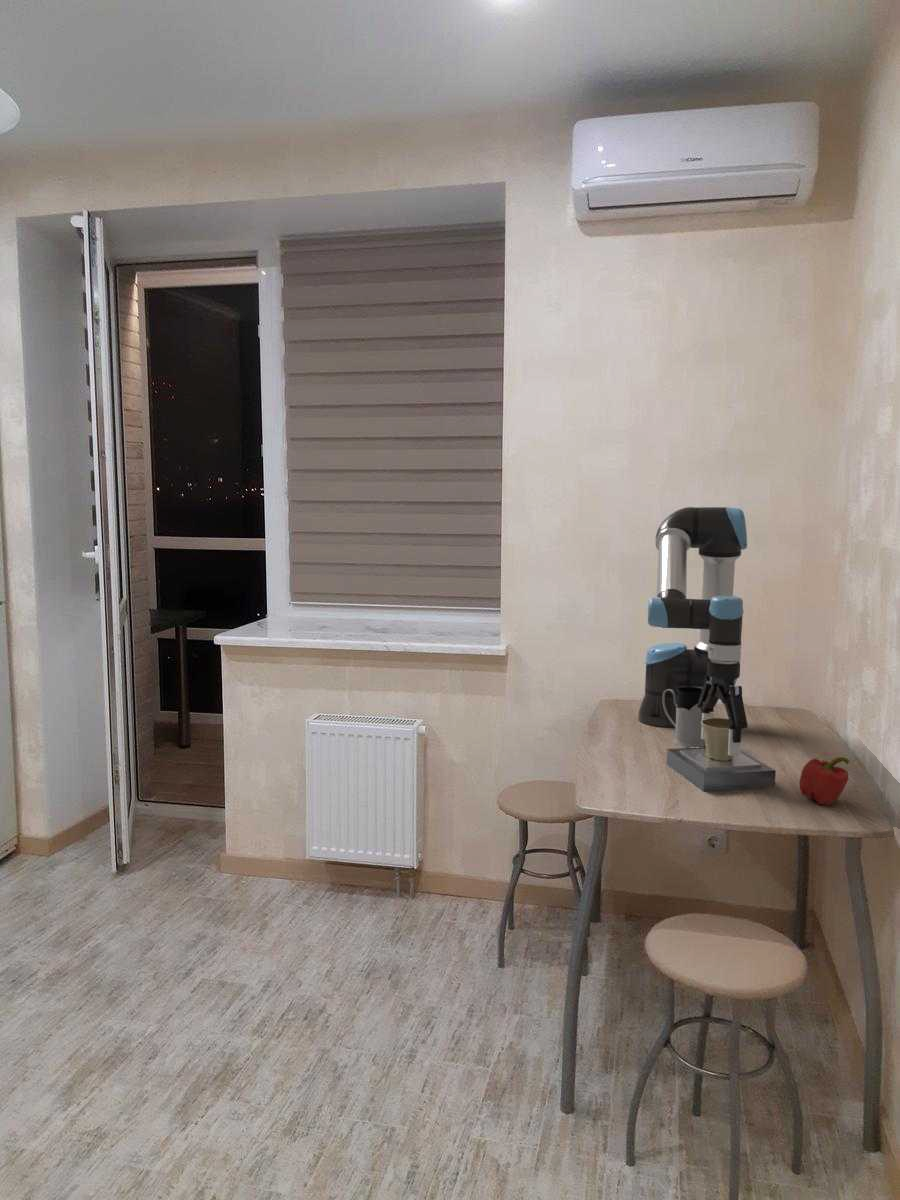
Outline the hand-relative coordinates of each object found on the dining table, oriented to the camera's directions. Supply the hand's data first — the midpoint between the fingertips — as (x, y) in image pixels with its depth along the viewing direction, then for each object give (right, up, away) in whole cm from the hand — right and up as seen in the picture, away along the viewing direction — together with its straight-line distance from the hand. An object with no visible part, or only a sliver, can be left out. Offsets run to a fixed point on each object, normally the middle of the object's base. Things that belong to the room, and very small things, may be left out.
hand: (719, 746), depth 208 cm
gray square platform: (0, -7, +1) cm, 7 cm away
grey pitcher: (-1, -4, +30) cm, 30 cm away
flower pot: (0, -3, 0) cm, 3 cm away
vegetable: (+18, -10, -16) cm, 26 cm away
